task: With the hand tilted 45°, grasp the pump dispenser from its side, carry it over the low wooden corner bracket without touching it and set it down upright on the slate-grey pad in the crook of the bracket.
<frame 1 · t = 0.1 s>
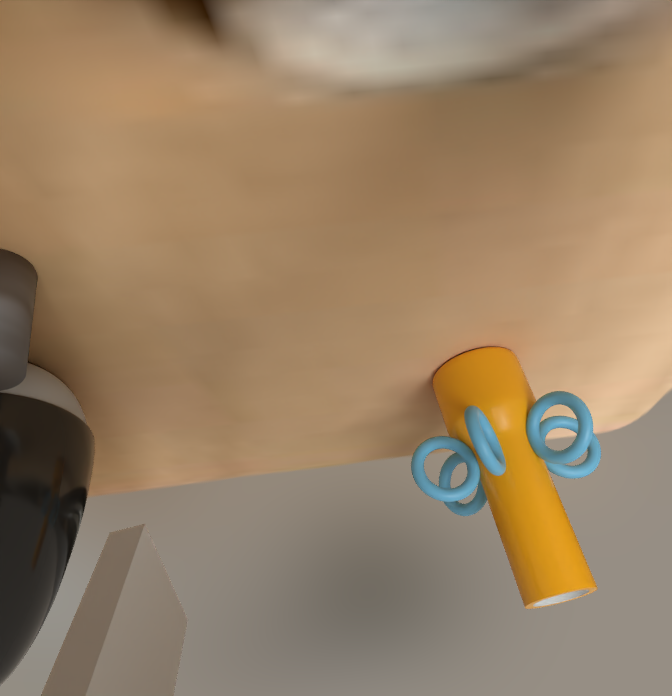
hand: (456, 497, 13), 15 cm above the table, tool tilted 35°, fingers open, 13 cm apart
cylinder: (472, 367, 40), on the table
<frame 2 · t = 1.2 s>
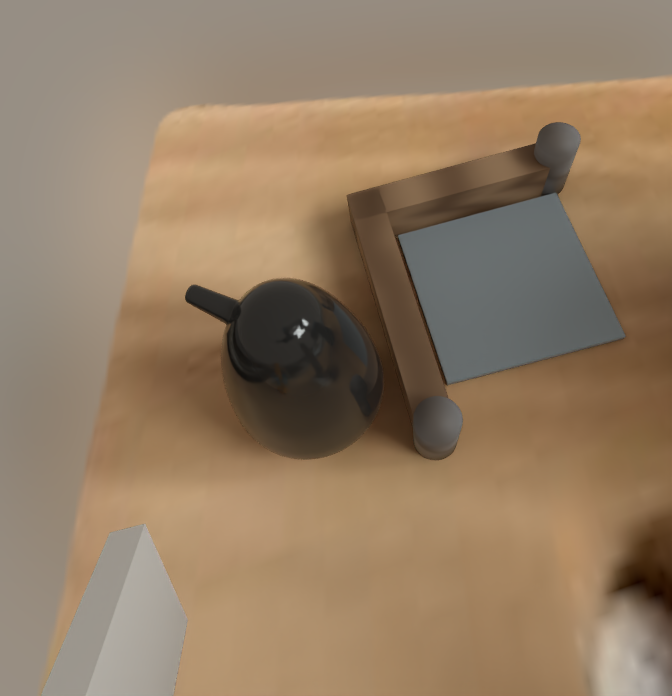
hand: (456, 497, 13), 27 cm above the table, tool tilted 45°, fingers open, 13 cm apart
pad: (504, 285, 45), on the table
wooden corner bracket: (369, 229, 48), on the table
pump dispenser: (315, 400, 43), on the table
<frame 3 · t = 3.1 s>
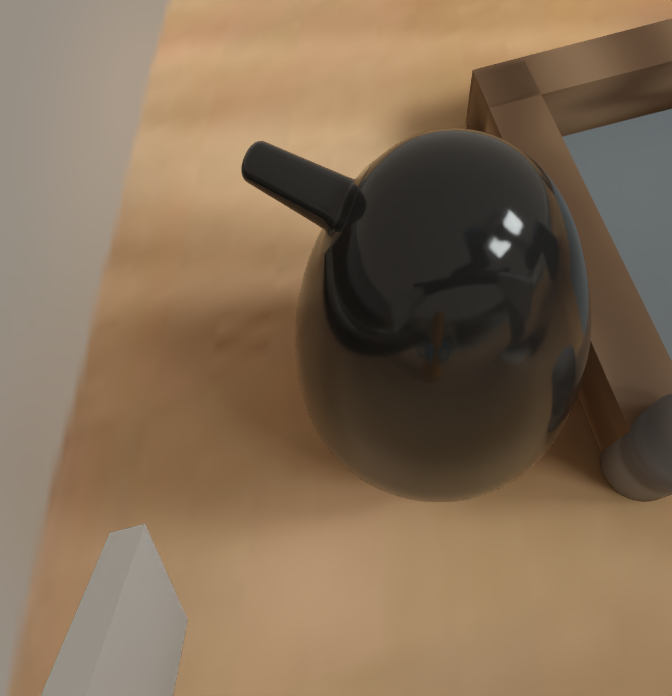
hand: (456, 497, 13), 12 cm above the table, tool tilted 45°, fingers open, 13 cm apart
wooden corner bracket: (495, 134, 31), on the table
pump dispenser: (426, 396, 26), on the table
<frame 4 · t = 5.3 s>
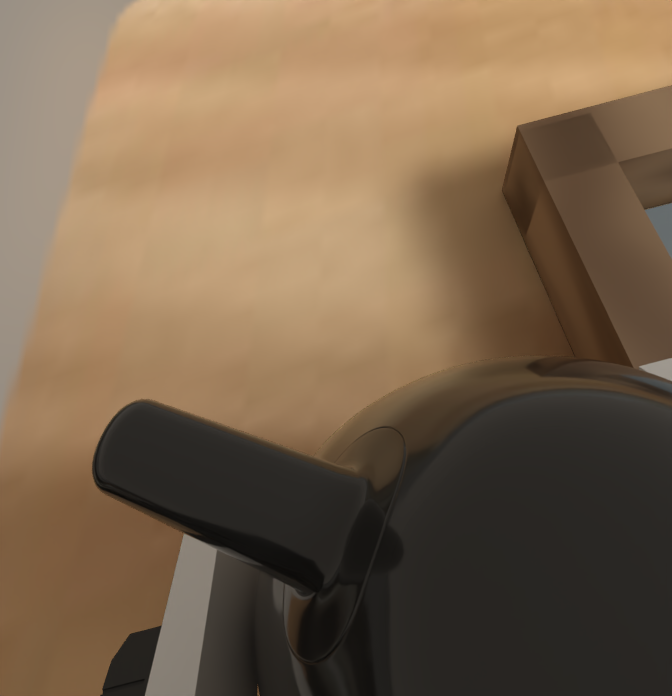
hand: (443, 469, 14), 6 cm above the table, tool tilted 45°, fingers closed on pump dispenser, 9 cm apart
wooden corner bracket: (543, 206, 23), on the table
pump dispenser: (461, 607, 18), on the table, touching gripper
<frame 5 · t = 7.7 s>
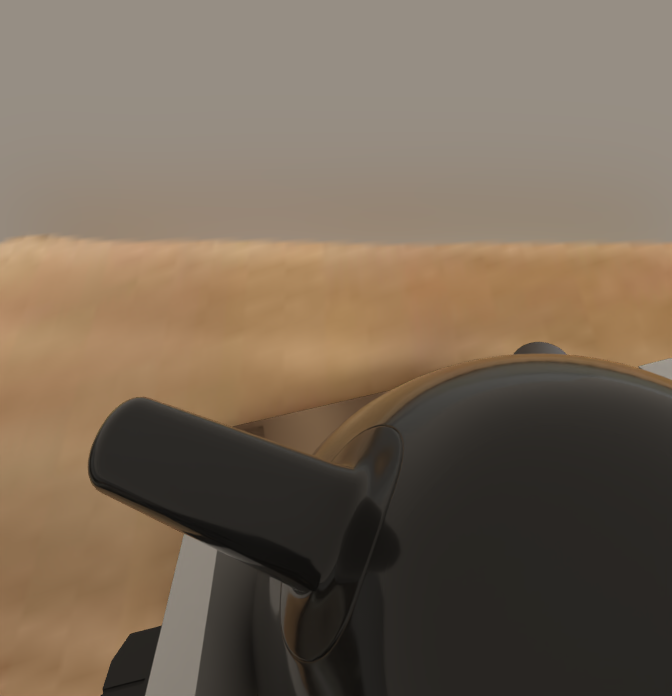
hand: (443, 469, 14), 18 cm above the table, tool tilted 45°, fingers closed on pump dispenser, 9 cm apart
wooden corner bracket: (255, 464, 32), on the table
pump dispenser: (461, 607, 18), point 12 cm above the table, touching gripper
when the fingers open (7 cm above the table, at t = 10.3 s): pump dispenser stays where it is, resting on pad.
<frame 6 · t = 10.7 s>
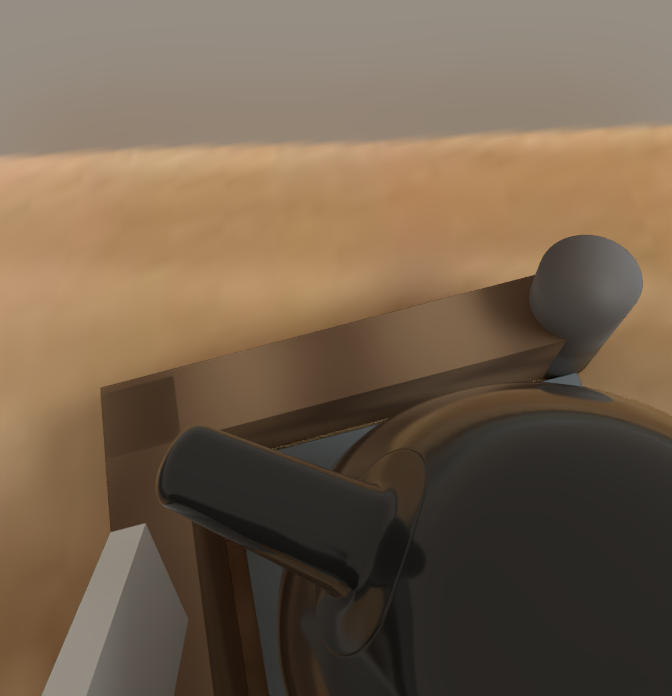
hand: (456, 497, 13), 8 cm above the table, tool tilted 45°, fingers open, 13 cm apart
pad: (458, 606, 19), on the table
wooden corner bracket: (177, 439, 22), on the table
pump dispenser: (464, 606, 19), resting on pad
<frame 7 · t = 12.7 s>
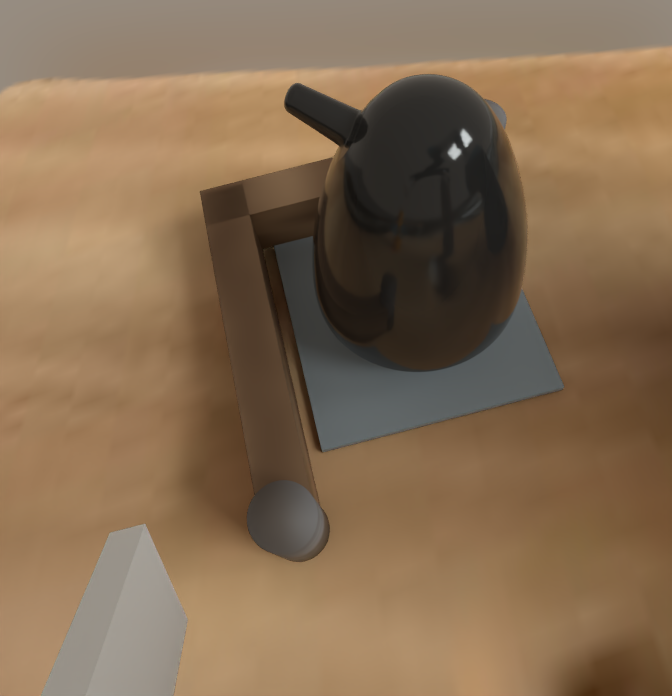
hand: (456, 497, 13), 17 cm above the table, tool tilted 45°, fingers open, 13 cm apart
pad: (407, 314, 33), on the table
wooden corner bracket: (239, 237, 37), on the table
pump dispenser: (411, 312, 33), resting on pad
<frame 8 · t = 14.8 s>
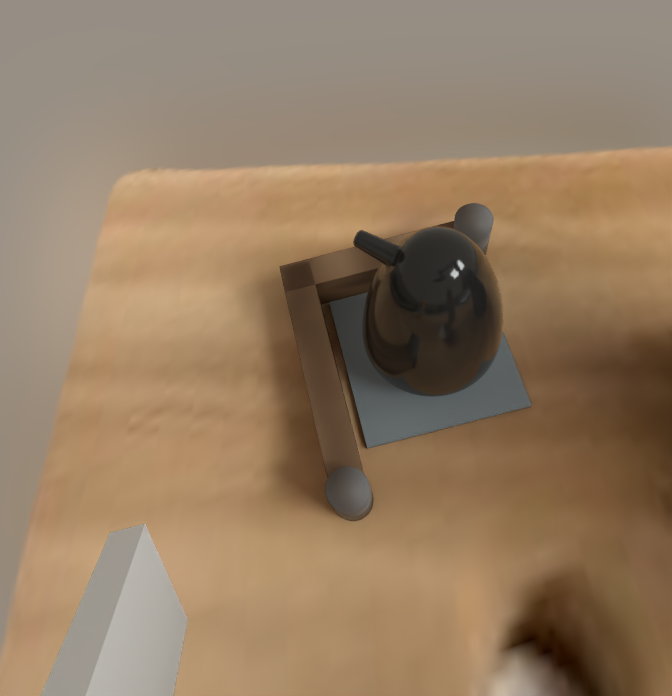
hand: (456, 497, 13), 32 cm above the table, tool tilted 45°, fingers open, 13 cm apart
pad: (424, 352, 48), on the table
wooden corner bracket: (303, 295, 51), on the table
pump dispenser: (427, 351, 48), resting on pad
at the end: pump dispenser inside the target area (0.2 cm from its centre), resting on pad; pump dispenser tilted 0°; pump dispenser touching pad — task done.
